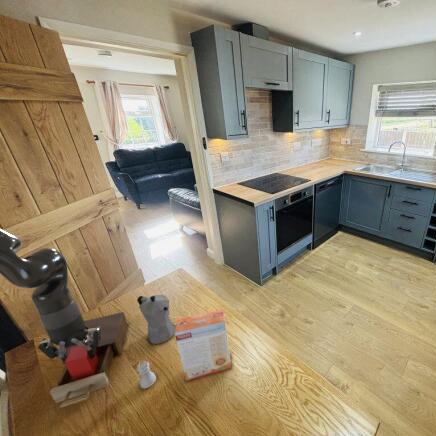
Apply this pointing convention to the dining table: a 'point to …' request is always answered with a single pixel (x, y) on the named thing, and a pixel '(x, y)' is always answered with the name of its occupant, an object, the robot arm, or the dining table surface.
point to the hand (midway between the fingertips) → (81, 359)
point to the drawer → (84, 380)
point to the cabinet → (109, 331)
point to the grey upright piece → (157, 317)
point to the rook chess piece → (146, 375)
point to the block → (80, 363)
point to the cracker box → (203, 344)
